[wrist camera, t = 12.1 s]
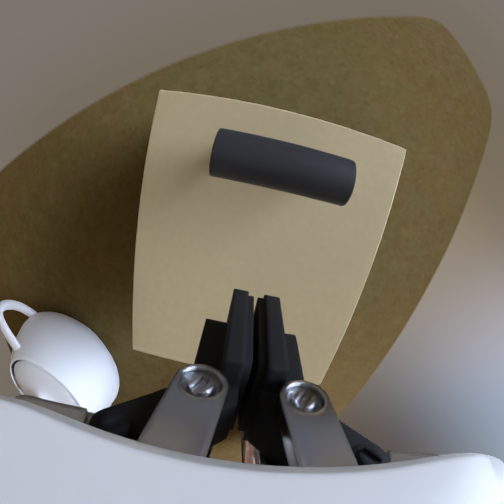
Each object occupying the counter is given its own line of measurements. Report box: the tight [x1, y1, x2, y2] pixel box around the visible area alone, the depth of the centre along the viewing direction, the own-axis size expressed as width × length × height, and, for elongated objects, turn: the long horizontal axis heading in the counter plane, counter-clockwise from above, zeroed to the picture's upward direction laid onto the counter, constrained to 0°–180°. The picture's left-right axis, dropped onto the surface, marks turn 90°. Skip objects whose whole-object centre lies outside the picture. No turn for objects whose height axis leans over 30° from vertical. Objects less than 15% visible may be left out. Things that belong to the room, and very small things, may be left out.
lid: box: [132, 90, 406, 384], centre depth 14 cm, size 15×13×5 cm
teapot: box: [0, 300, 119, 413], centre depth 25 cm, size 22×14×11 cm, turn 25°
